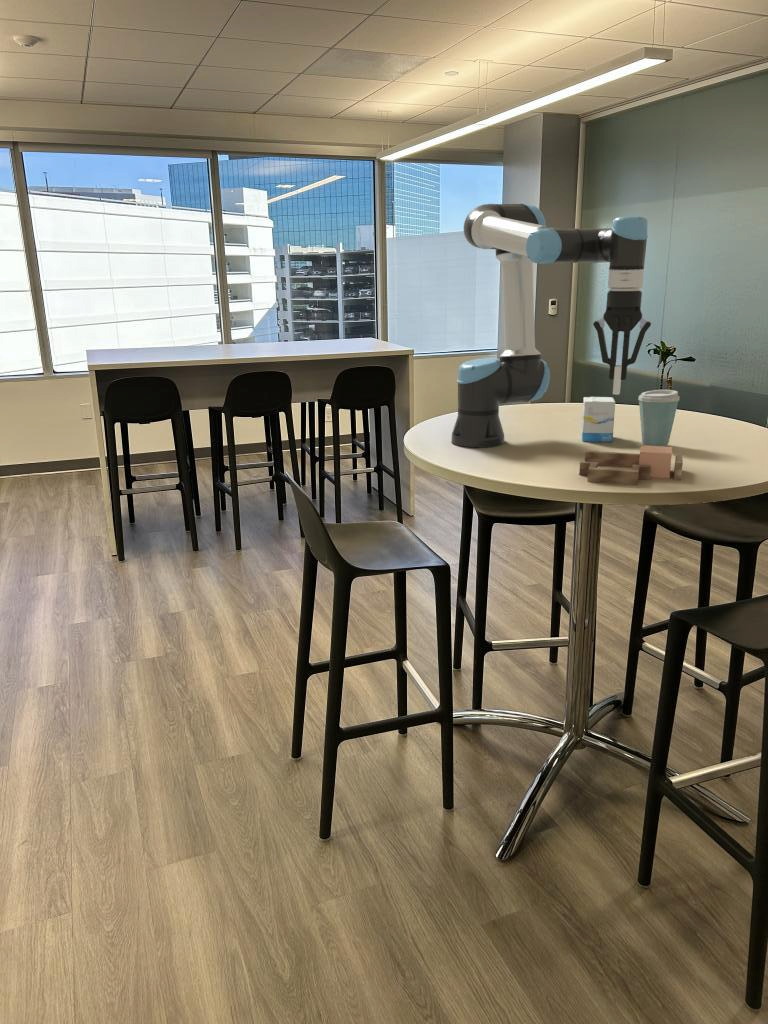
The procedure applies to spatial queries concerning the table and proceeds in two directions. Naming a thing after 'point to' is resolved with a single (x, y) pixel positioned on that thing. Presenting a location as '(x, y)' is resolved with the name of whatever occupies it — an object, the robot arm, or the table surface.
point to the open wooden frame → (618, 474)
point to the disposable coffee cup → (657, 416)
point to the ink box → (598, 419)
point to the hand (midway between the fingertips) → (616, 393)
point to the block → (656, 460)
